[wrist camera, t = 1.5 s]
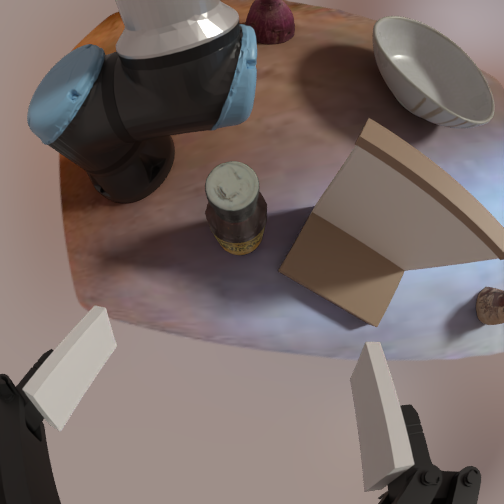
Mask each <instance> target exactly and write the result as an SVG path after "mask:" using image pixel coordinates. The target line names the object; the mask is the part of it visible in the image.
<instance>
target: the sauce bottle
mask: <svg viewBox="0 0 504 504" xmlns="http://www.w3.org/2000/svg"><path fill="white" fill-rule="evenodd" d="M205 192H206V195H207V199H208V202H209V203H208V204H207V209H206V211H205V214H206V218H207V220H208V223H209V227H210V229H211V231H212V233H213V234H214V236H215V237H216V239H217V240H218V242H219V243H220V245H221V246H222V247H223V249H224V250H226V251H227V252H229V253H231V254H235V255H245V254H248V253H250V252H252V251H254V250H255V249H256V248H257V247H258V246H259V244H260V242H261V240H262V236H263V232H264V228H265V224H266V218H267V203H266V202H265V200H264V198H263V196H262V194H261V193H260V192H259V181H258V177H257V175H256V173H255V172H254V171H253V170H252V169H251V168H250V167H249V166H248V165H246V164H243V163H240V162H235V161H231V162H226V163H223V164H220V165H218V166H216V167H215V168H214V169H213V170H212V171H211V173H210V174H209V175H208V178H207V179H206V184H205Z"/></svg>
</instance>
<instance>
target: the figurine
mask: <svg viewBox="0 0 504 504" xmlns="http://www.w3.org/2000/svg"><path fill="white" fill-rule="evenodd" d="M476 311H477V316H478V319H479V320H480V321H481V322H482V323H484V324H487V325H496V324H501V323H504V291H503V290H500V289H496V288H491V287H485V288H484V289H483V290H482V291H481V292H480V293H479V295H478V297H477V302H476Z"/></svg>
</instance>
